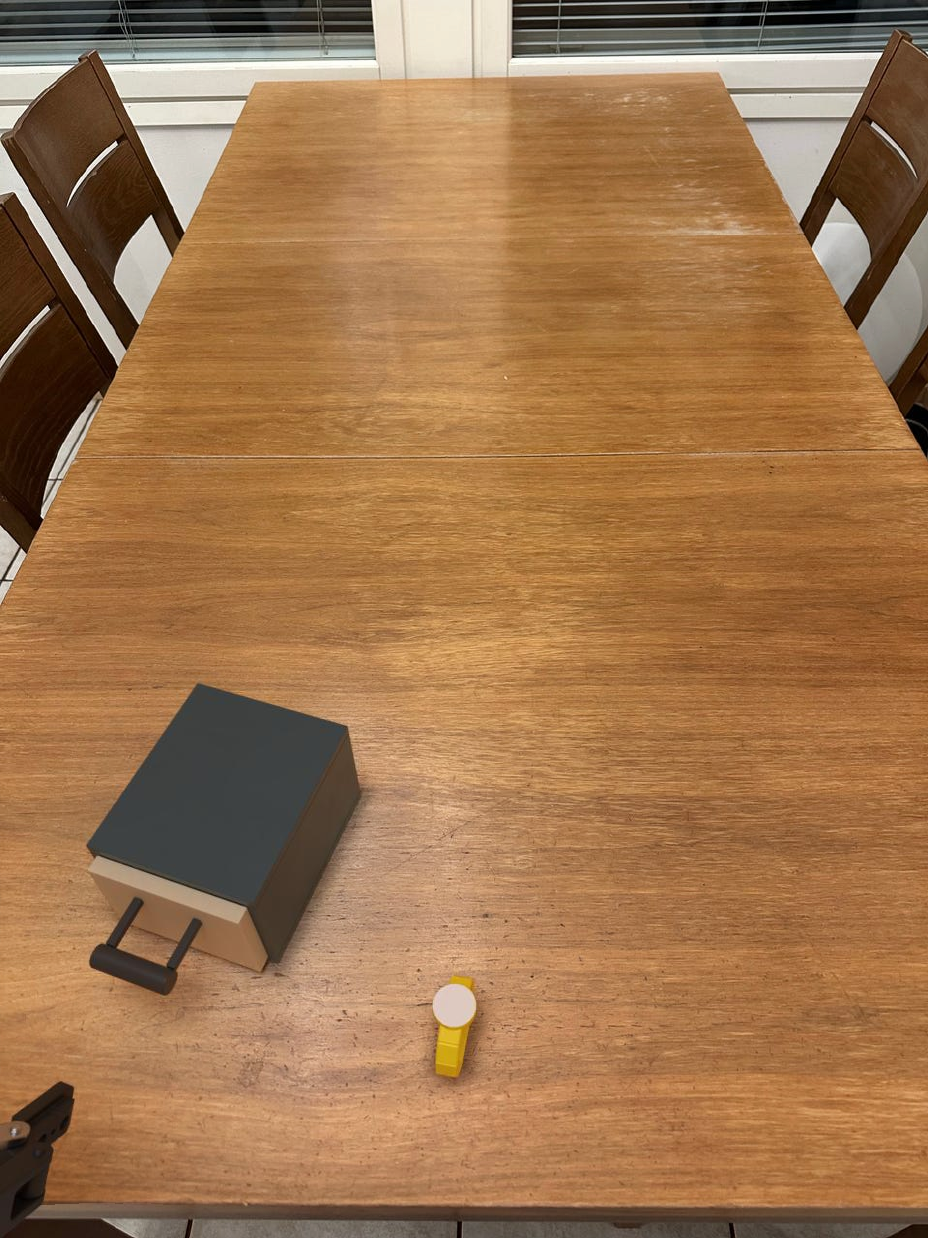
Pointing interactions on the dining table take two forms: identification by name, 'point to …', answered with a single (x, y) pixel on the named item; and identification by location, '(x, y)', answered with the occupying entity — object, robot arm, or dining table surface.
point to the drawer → (169, 925)
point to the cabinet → (238, 806)
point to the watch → (453, 1023)
